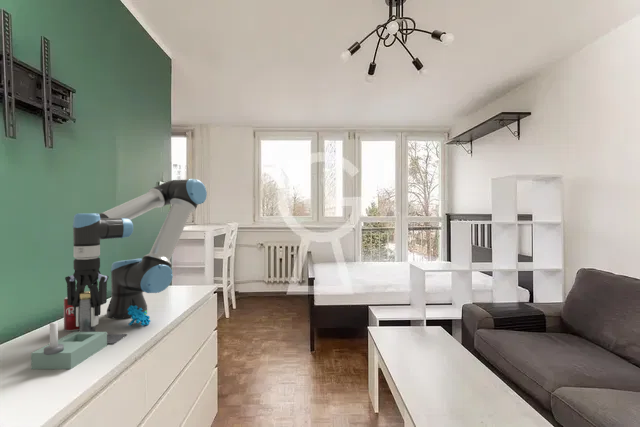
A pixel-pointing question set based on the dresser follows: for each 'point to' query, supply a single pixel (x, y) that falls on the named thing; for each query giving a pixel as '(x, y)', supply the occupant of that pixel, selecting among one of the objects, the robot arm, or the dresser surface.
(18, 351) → the dresser surface
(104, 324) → the dresser surface
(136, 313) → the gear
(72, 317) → the soda can
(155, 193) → the robot arm
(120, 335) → the mat
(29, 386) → the dresser surface
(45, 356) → the fixture block
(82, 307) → the silver tall can
